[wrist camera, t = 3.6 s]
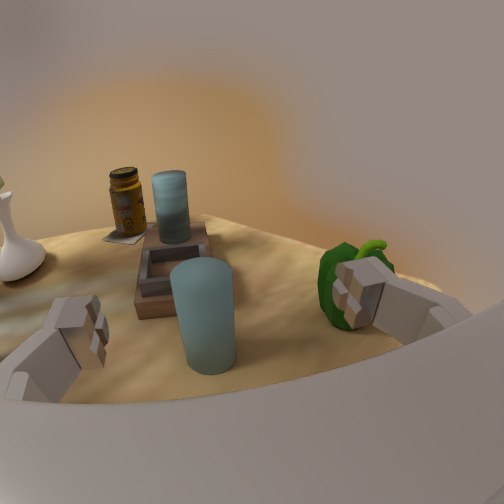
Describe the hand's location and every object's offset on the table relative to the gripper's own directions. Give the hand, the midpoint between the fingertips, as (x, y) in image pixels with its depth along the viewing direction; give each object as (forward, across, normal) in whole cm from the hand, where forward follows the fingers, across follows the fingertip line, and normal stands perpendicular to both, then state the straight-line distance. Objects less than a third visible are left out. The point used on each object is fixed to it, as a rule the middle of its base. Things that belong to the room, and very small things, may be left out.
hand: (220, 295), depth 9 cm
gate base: (+29, +3, +17) cm, 34 cm away
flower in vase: (+34, +33, +17) cm, 50 cm away
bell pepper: (+14, -16, +17) cm, 28 cm away
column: (+12, 0, +17) cm, 21 cm away
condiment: (+44, +12, +17) cm, 49 cm away
